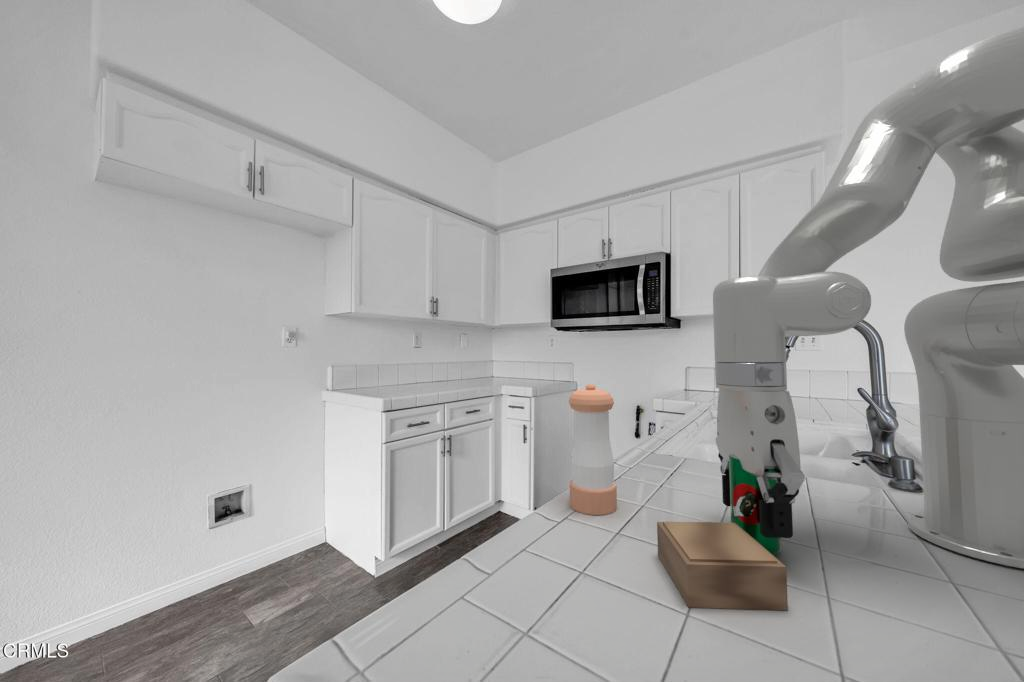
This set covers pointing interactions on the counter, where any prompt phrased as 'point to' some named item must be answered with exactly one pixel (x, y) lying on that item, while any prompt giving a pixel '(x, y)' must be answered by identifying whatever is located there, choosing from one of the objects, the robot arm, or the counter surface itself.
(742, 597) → the walnut base
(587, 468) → the pepper shaker
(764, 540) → the soda can
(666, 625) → the counter surface
